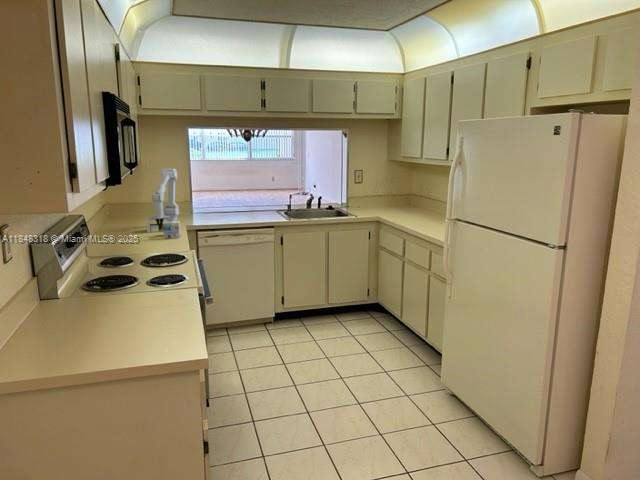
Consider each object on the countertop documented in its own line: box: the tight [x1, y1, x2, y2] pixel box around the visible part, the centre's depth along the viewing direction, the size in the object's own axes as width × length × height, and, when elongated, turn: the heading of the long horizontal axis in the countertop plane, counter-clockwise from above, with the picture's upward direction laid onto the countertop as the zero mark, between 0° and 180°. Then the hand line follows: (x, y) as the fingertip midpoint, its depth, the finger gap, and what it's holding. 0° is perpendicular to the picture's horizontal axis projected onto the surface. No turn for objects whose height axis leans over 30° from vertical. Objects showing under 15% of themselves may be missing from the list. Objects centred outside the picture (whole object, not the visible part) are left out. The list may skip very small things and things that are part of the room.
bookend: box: [146, 218, 151, 234], centre depth 337 cm, size 10×2×8 cm, turn 18°
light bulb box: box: [162, 220, 181, 239], centre depth 325 cm, size 11×7×11 cm, turn 101°
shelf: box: [149, 222, 164, 234], centre depth 341 cm, size 12×18×6 cm
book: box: [151, 226, 160, 233], centre depth 339 cm, size 8×5×3 cm, turn 18°
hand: (160, 229), depth 340 cm, fingers closed
